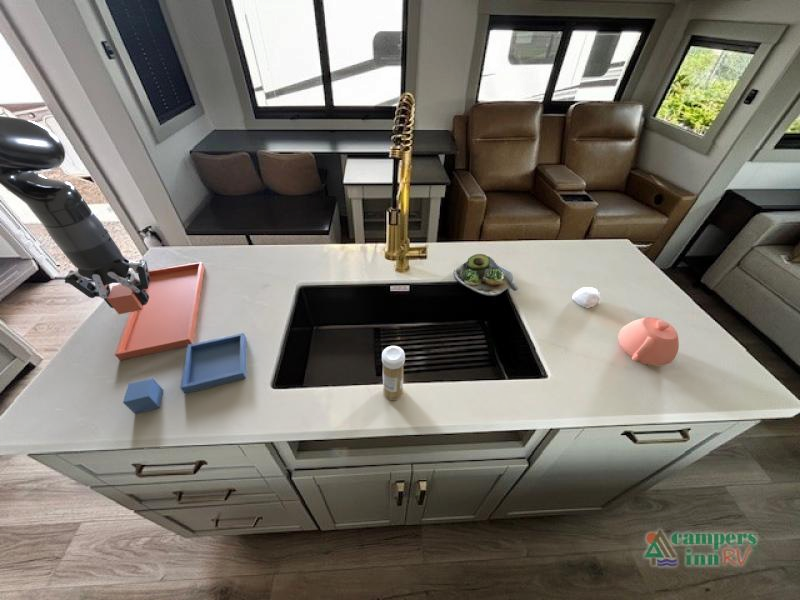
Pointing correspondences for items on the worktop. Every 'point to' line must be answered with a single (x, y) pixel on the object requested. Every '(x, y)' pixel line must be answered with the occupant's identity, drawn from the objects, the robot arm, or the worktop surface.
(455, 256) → the worktop surface
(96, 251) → the robot arm
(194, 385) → the slate-blue tray
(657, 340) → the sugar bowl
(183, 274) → the terracotta tray
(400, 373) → the sprinkles bottle
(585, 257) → the worktop surface
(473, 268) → the avocado toast plate
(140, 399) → the slate-blue block
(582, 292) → the garlic
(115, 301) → the terracotta block
